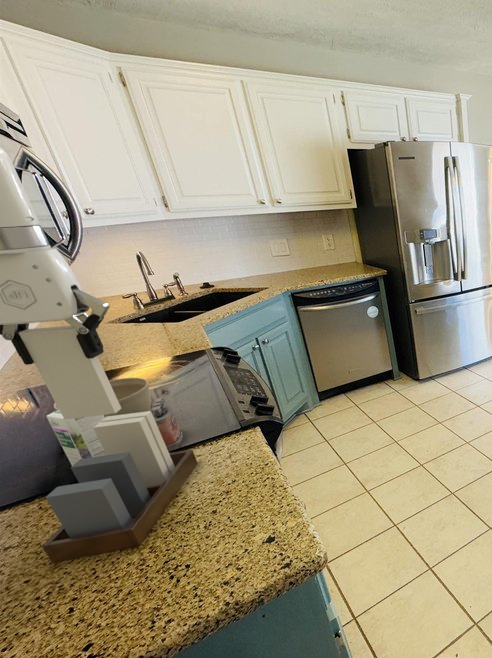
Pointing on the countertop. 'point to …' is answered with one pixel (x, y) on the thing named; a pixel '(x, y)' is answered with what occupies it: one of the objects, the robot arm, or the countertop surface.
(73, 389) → the thin white book
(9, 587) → the countertop surface
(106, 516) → the grey books
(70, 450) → the syrup box
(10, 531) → the countertop surface
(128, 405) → the planter bowl
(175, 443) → the lighter
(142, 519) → the book caddy
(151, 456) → the white books
